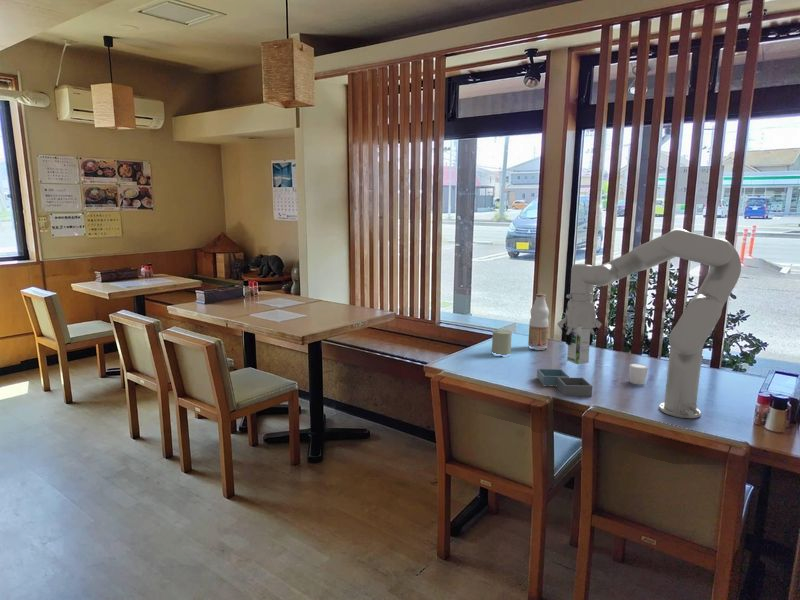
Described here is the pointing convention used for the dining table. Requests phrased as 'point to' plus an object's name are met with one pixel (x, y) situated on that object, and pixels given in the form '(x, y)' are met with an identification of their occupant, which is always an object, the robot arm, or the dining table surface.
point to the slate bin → (550, 376)
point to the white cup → (638, 373)
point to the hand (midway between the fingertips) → (578, 344)
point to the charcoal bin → (574, 386)
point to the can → (501, 342)
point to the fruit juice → (539, 323)
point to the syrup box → (579, 346)
